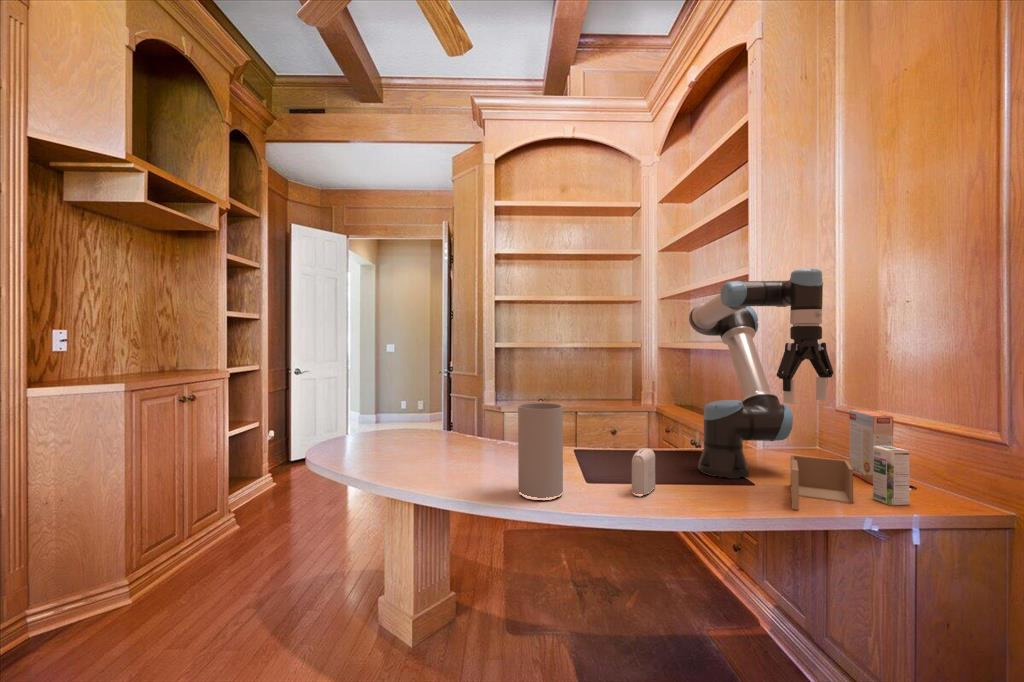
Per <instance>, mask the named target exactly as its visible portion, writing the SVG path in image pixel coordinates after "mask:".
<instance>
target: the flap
mask: <svg viewBox="0 0 1024 682" xmlns="http://www.w3.org/2000/svg"><path fill="white" fill-rule="evenodd" d="M790 490H791V492H790V495H791V496H790V497H791V509H792V510H796V511H797V510H798V511H799V505H800V504H799V503H800V502H799V497H800V496H799V482H798V464H797V460H791V459H790Z"/></svg>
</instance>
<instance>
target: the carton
mask: <svg viewBox="0 0 1024 682" xmlns="http://www.w3.org/2000/svg"><path fill="white" fill-rule="evenodd" d="M791 460H797V464H798V482H799V497H800V496H801V497H802V498H808V499H817V500H822V499H824V500H825V501H830V500H831V501H832V502H839V503H847V504H854V475H853V469H852V467H851V465H850V461H848V460H844V459H835V458H834V459H833V458H829V459H826V458H825V457H817V458H816V456H806V455H805V456H804V455H794V454H790V461H791ZM801 497H800V498H801ZM824 500H823V501H824ZM831 501H830V502H831Z"/></svg>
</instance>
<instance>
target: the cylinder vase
mask: <svg viewBox="0 0 1024 682" xmlns="http://www.w3.org/2000/svg"><path fill="white" fill-rule="evenodd" d="M517 409H518V410H517V412H518V413H517V416H518V418H517V421H518V422H517V425H518V426H517V428H518V429H517V430H518V433H517V434H518V435H517V437H518V440H517V441H518V442H517V446H518V447H517V452H518V453H517V454H518V457H517V459H518V463H517V464H518V468H517V469H518V480H517V481H518V483H517V484H518V489H517V490H519V492H521V493H522V494H524V495H527V496H531V497H537V498H546V497H548V498H549V497H554V496H558V495H560V494H561V493H562V492H563V493H564V476H563V475H564V458H563V457H564V439H563V438H564V437H563V436H564V430H563V429H564V428H563V427H564V417H563V413H564V411H563V410H564V407H563V405H562V404H556V403H548V402H546V403H545V402H544V403H543V402H537V403H536V402H534V403H533V402H532V403H522V404H519V405H518V406H517ZM519 492H518V493H519Z"/></svg>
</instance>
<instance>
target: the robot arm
mask: <svg viewBox="0 0 1024 682" xmlns="http://www.w3.org/2000/svg"><path fill="white" fill-rule="evenodd" d="M823 285H824V282H823V272H822V271H821V269H818V268H804V269H803V268H801V269H795V270H792V272H791V273H790V278H789V279H788V280H734V281H726V282H724V283H723V285H722V287H721V289H720V294H718V295H716V296H715V297H714V298H712V299H710V300H709V301H707V302H703V303H700V304H697V305H696V306H694V307H693V309H691V311H690V312H689V315H688V320H689V325H690V327H691V328H692V329H693V330H694V331H695V332H696V333H699V334H700V335H705V336H708V337H709V336H710V337H711V336H713V337H714V336H715V337H717V336H718V337H719V336H720V339H721V342H722V343H723V344H724V345H727V347H728V350H729V354H730V357H731V361H732V364H733V367H734V370H735V375H736V378H737V381H738V384H739V387H740V391H741V395H742V397H743V400H742V401H741V400H738V399H729V400H728V399H723V400H722V399H721V400H715V401H710V402H707V403H706V404H705V405H704V409H703V416H702V418H703V448H702V449H703V450H702V452H701V455H700V458H699V461H698V465H697V466H698V467H697V469H699V470H700V471H703V472H705V473H708V474H711V475H716V476H721V477H733V478H732V479H741V478H740V477H744V478H747V477H749V473H750V471H749V469H750V468H749V466H748V461H747V459H746V456H745V453H744V450H743V445H744V444H743V443H744V442H743V441H755V442H757V441H758V442H763V441H765V442H775V441H777V442H778V441H783V440H786V439H787V438H788V437H789V436H790V434H791V432H792V430H793V427H794V426H793V425H794V424H793V423H794V418H793V412H792V409H791V407H789V406H788V405H786V404H790V405H795V404H796V403H795V402H796V401H795V399H796V397H795V395H796V393H795V386H796V383H795V382H796V379H793V378H794V376H795V375H796V373H797V370H798V369H799V367H800V365H801V364H802V362H803V361H805V360H809V362H810V364H811V365H812V367H813V369H814V370H815V372H816V375H818V376H816V377H815V400H816V401H823V402H827V401H828V386H829V385H828V382H829V381H828V378H833V375H834V373H835V372H834V369H833V367H832V363H831V360H830V357H829V354H828V350H827V343H826V342H819V340H822V338H823V327H822V326H821V325H822V324H823V295H824V294H823V288H824V287H823ZM789 306H790V311H789V312H790V316H789V319H790V321H789V323H790V325H792V326H791V327H790V328H789V331H790V332H789V333H790V336H789V338H790V339H791V340H793V342H786V343H785V345H784V352H783V356H782V358H781V359H780V360H781V361H780V364H779V367H778V370H777V372H776V377H778V379H779V380H782V390H783V399H782V400H783V401H782V402H783V403H782V404H781V402H780V399H779V398H778V396H777V395H776V394H773V393H772V392H771V389H770V386H769V384H768V380H767V377H766V374H765V371H764V368H763V365H762V363H761V360H760V356H759V354H758V351H757V348H756V345H755V342H754V337H756V334H757V332H758V329H759V322H758V321H759V317H758V314H757V312H756V311H755V309H754V307H776V308H786V307H789ZM699 470H698V471H699ZM700 471H699V472H700ZM721 477H720V478H721Z"/></svg>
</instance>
